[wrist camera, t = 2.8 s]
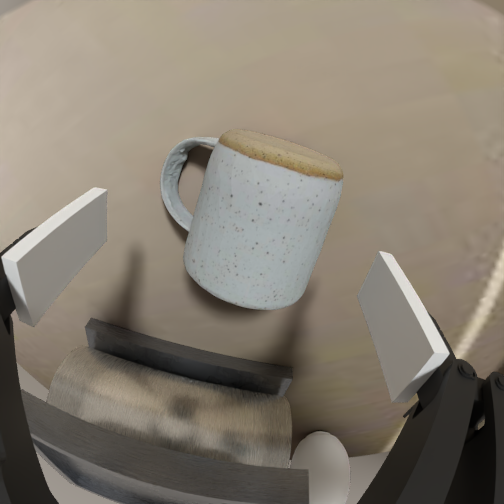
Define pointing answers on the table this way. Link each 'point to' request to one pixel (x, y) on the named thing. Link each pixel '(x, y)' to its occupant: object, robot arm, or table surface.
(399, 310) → the robot arm
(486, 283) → the table surface
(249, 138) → the ceramic mug
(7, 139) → the table surface
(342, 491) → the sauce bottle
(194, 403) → the grey piece
